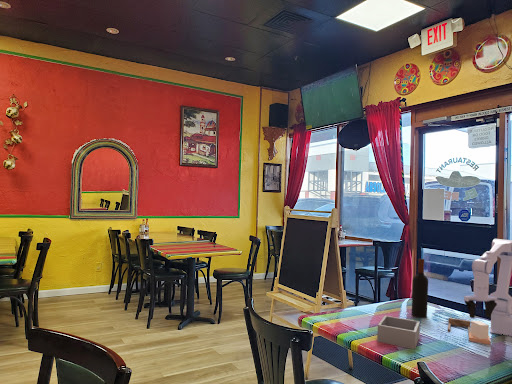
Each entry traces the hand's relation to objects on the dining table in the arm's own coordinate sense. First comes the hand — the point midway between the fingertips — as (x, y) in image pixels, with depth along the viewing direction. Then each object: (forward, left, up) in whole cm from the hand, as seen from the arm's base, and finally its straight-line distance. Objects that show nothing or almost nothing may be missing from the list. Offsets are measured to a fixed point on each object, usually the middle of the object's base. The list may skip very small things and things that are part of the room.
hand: (479, 317), depth 175 cm
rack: (+8, -12, -10) cm, 17 cm away
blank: (0, 0, -8) cm, 8 cm away
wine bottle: (+27, -25, -10) cm, 38 cm away
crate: (+31, +21, -10) cm, 39 cm away
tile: (0, 0, -10) cm, 10 cm away
